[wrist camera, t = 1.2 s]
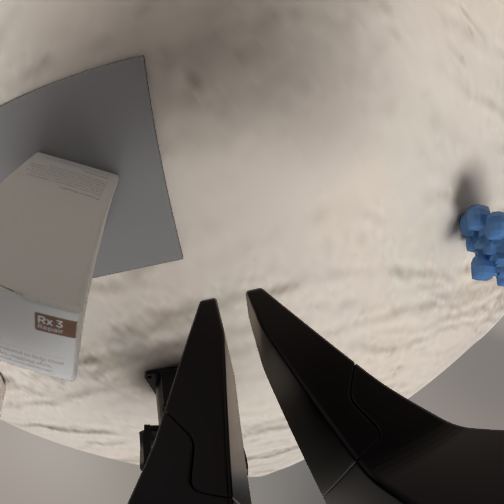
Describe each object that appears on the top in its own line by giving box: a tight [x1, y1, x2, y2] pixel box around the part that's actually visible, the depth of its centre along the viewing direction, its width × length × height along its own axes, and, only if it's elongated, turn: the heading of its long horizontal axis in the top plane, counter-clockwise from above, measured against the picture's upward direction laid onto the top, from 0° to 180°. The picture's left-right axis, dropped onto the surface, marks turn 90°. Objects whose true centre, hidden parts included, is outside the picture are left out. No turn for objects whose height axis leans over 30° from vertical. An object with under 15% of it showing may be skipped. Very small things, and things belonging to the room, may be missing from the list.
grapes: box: [460, 205, 504, 286], centre depth 23 cm, size 12×7×12 cm, turn 43°
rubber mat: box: [0, 56, 183, 278], centre depth 16 cm, size 14×22×1 cm, turn 94°
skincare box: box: [0, 152, 119, 381], centre depth 12 cm, size 6×4×12 cm
